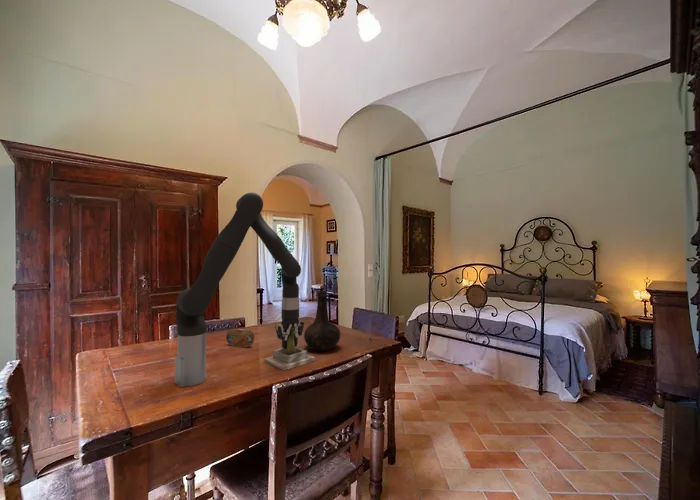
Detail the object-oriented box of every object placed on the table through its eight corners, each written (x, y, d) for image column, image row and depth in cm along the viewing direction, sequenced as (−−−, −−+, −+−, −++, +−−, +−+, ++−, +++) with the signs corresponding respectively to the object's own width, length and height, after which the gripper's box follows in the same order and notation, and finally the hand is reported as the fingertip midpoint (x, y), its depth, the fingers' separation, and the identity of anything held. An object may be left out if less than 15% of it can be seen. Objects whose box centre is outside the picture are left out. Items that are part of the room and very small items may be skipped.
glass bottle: (323, 356, 138) (324, 294, 138) (296, 349, 148) (296, 291, 149) (347, 347, 152) (348, 291, 152) (321, 341, 163) (321, 288, 163)
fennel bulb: (282, 353, 133) (283, 325, 133) (294, 352, 135) (294, 324, 135) (285, 357, 128) (285, 328, 128) (296, 356, 129) (297, 327, 130)
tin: (225, 345, 154) (225, 328, 154) (229, 343, 157) (230, 327, 157) (251, 348, 149) (251, 331, 149) (255, 346, 152) (255, 329, 152)
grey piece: (283, 370, 121) (283, 359, 121) (264, 362, 130) (264, 351, 130) (314, 360, 132) (315, 350, 132) (295, 353, 142) (295, 343, 142)
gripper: (281, 310, 124) (280, 353, 124) (309, 306, 134) (308, 345, 134) (271, 308, 129) (270, 349, 129) (298, 304, 139) (297, 342, 139)
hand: (289, 347), depth 131 cm, fingers closed on fennel bulb, 4 cm apart
